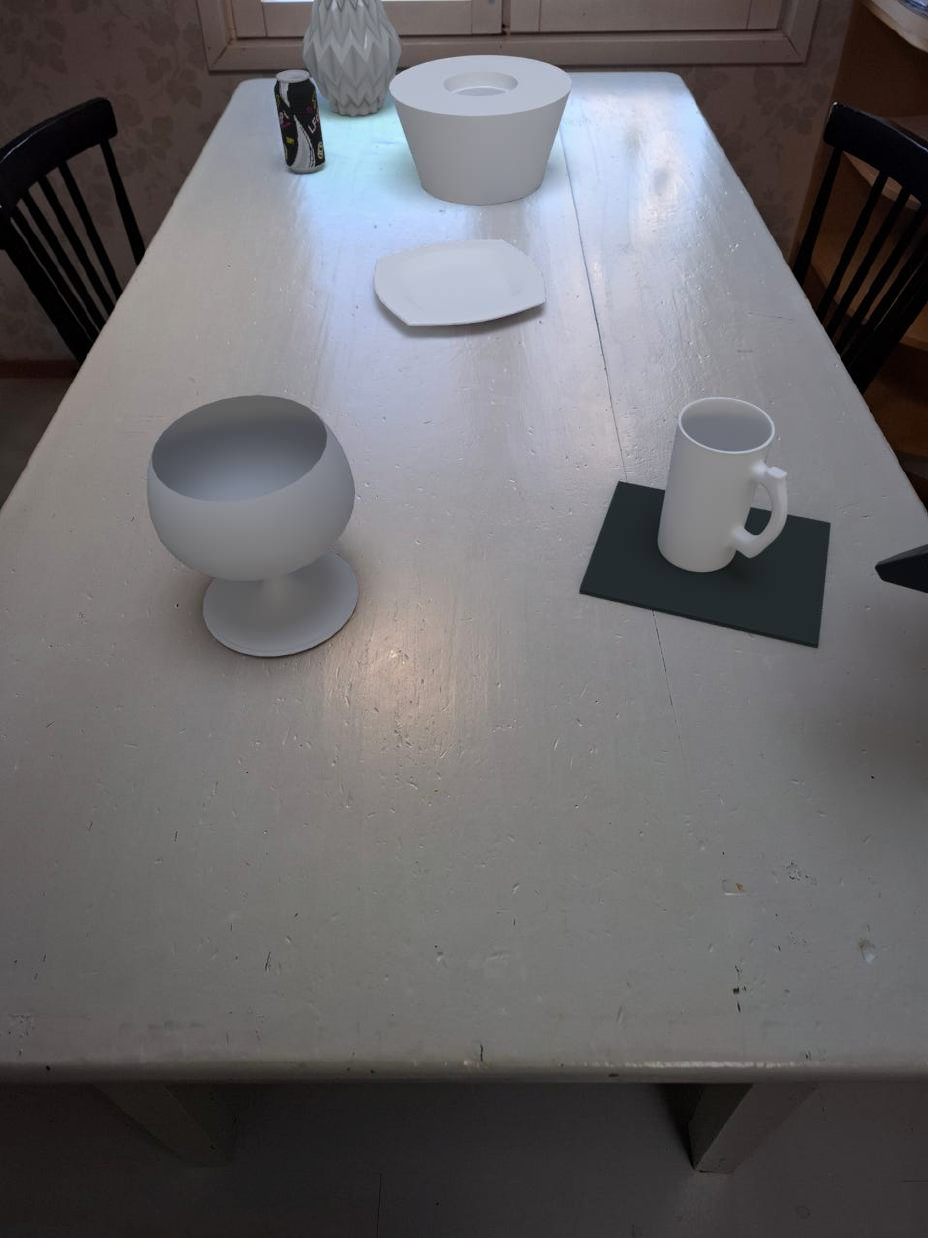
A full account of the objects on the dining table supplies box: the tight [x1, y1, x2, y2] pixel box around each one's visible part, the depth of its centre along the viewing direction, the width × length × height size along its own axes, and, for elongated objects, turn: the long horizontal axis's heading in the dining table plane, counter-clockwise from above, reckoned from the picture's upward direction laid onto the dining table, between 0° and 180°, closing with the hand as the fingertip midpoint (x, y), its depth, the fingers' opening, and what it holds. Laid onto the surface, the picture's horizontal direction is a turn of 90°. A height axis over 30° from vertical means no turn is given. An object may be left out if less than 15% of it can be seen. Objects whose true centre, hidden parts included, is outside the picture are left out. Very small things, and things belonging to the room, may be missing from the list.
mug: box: [658, 396, 789, 572], centre depth 64 cm, size 10×7×12 cm, turn 36°
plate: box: [373, 238, 547, 327], centre depth 98 cm, size 19×19×2 cm
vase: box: [299, 0, 403, 117], centre depth 134 cm, size 16×16×18 cm
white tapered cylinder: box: [389, 54, 573, 206], centre depth 116 cm, size 24×24×12 cm
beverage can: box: [273, 69, 326, 174], centre depth 121 cm, size 6×6×12 cm
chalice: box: [146, 394, 360, 657], centre depth 62 cm, size 14×14×15 cm
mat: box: [578, 480, 832, 649], centre depth 69 cm, size 18×14×1 cm
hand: (908, 529), depth 51 cm, fingers open, 9 cm apart
